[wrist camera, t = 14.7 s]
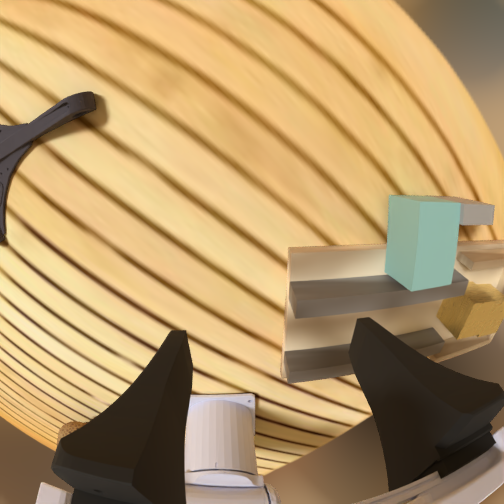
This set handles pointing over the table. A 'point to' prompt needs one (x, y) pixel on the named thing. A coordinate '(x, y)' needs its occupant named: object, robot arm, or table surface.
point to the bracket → (21, 136)
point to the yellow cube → (493, 310)
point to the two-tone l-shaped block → (428, 237)
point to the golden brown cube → (466, 312)
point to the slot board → (371, 305)
